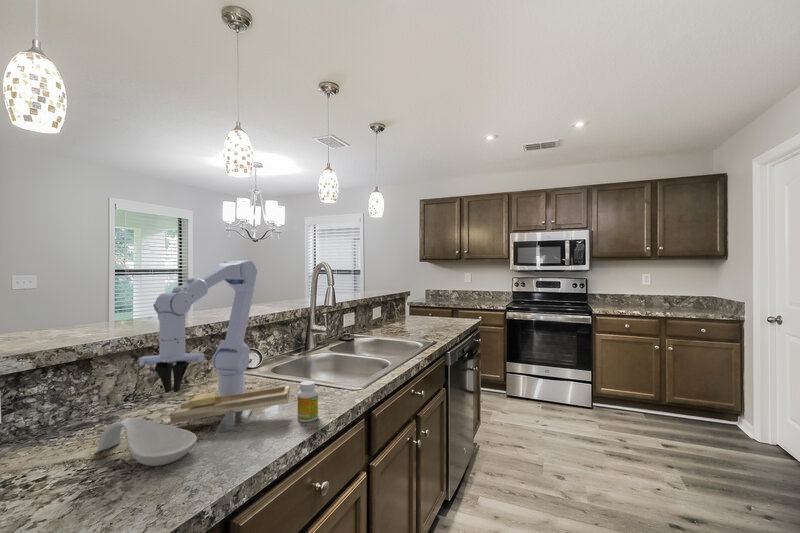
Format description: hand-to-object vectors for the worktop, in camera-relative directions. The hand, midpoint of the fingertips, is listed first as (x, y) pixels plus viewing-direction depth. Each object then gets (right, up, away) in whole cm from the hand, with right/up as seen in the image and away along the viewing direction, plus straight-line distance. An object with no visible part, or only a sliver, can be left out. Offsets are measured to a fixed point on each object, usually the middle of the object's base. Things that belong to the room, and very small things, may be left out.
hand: (172, 391), depth 94 cm
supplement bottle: (+34, -9, +5) cm, 35 cm away
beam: (+15, -5, +3) cm, 16 cm away
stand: (+15, -9, +3) cm, 18 cm away
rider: (+8, -5, +2) cm, 9 cm away
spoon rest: (+3, -10, -14) cm, 17 cm away
